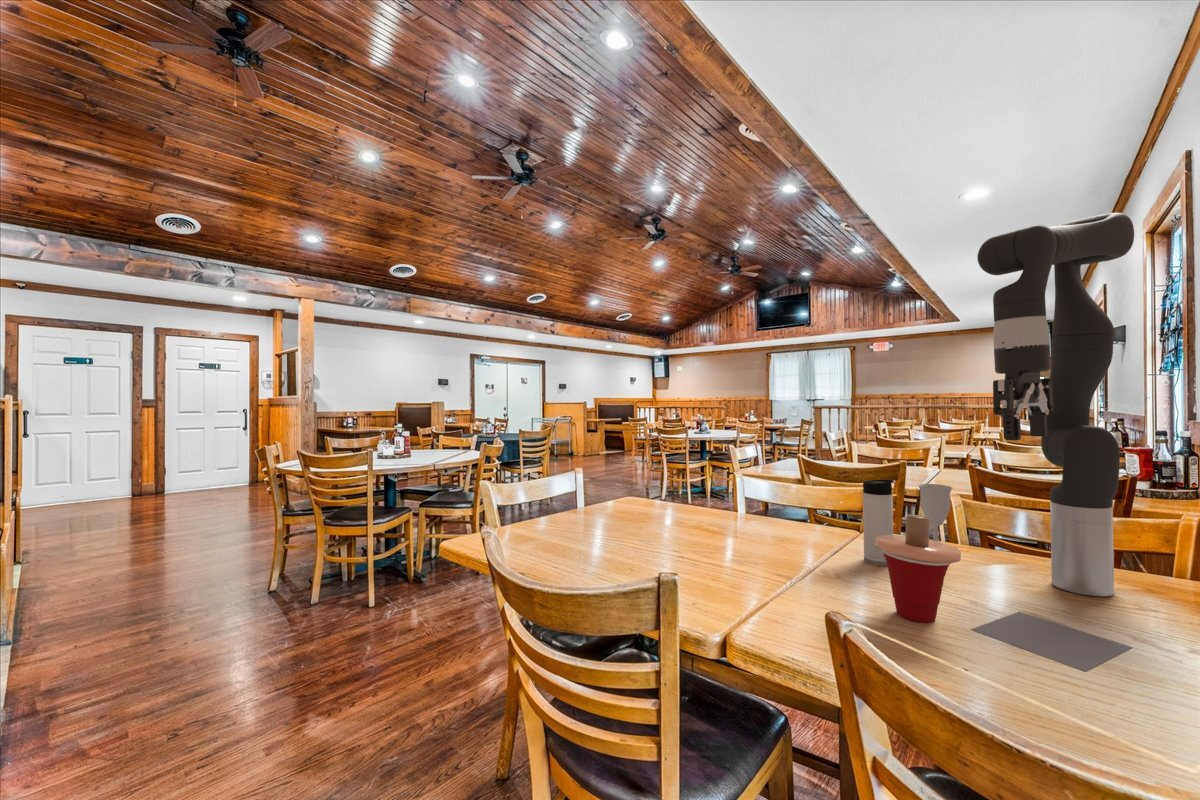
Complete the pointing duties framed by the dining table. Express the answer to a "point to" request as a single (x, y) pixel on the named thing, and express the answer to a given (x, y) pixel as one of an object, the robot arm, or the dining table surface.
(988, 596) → the dining table surface
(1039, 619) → the mat
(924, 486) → the chalice
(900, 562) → the plastic cup
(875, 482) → the travel mug
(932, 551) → the lid
